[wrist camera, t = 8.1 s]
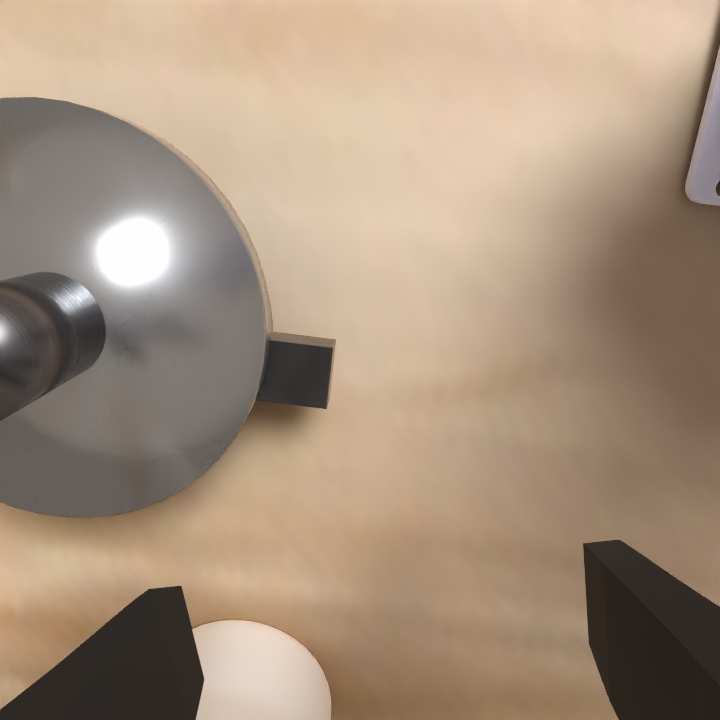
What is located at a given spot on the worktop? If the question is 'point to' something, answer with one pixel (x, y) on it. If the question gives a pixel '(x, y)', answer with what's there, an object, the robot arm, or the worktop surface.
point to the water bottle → (258, 674)
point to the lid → (117, 314)
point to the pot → (298, 370)
